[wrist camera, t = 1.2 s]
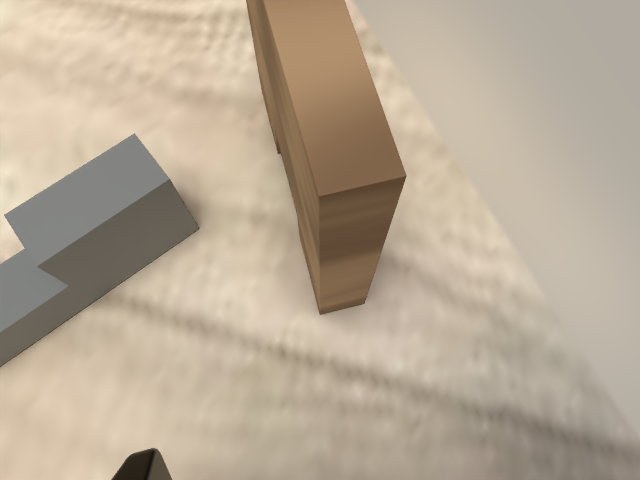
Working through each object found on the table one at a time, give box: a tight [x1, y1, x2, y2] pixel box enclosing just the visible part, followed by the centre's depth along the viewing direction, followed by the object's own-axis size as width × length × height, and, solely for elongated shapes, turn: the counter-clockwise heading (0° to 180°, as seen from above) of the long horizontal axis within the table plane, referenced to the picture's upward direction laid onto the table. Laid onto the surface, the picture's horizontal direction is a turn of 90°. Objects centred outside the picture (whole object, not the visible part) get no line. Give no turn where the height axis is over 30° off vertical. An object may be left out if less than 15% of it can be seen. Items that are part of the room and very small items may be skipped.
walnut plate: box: [246, 0, 406, 315], centre depth 19 cm, size 12×2×12 cm, turn 14°
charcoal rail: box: [0, 133, 199, 367], centre depth 20 cm, size 14×2×5 cm, turn 128°
